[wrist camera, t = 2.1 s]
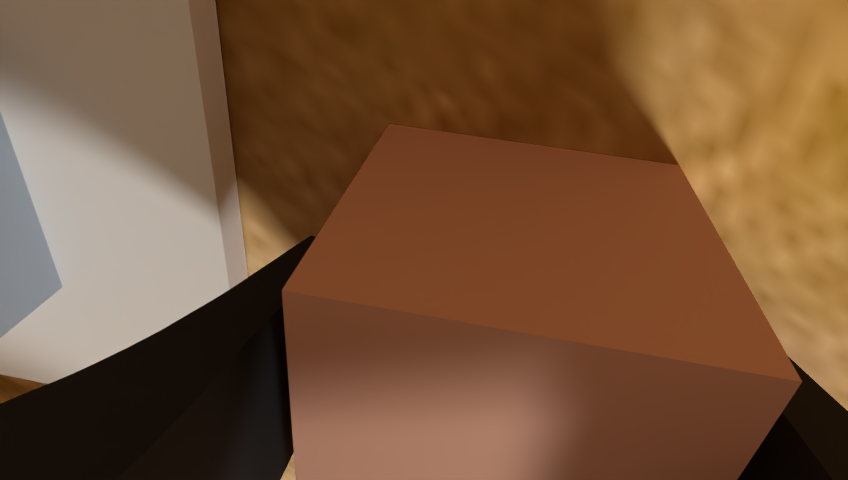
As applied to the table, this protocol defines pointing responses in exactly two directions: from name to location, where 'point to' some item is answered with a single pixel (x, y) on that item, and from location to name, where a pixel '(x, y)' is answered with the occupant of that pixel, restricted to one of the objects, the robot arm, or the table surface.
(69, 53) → the board
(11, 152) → the base brick
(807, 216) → the table surface
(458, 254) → the top brick
